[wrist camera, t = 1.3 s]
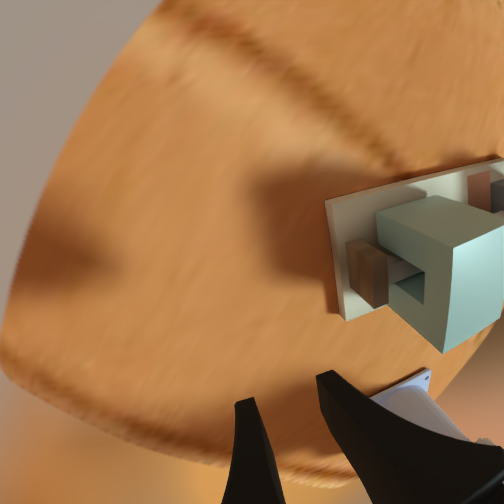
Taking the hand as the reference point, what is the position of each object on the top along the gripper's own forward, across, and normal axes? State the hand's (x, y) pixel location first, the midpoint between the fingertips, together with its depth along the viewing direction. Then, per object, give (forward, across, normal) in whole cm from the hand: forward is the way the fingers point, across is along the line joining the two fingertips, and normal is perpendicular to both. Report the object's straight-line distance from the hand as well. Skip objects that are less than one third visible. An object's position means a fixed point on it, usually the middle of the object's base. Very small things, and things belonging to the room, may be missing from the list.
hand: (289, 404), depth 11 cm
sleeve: (+8, -11, 0) cm, 14 cm away
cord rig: (+9, -15, 0) cm, 18 cm away
